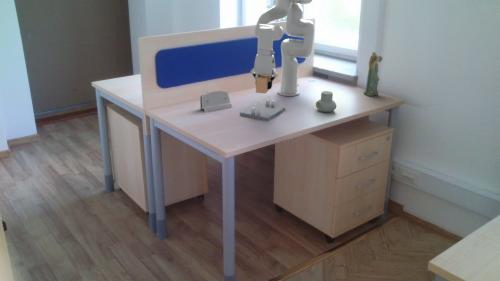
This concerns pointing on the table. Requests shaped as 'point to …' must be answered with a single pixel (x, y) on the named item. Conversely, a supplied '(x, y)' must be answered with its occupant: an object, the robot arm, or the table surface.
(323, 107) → the grey green vase
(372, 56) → the statue
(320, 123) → the table surface
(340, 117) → the table surface
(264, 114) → the base plate
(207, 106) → the hinge
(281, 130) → the table surface
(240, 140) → the table surface
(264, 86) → the block
